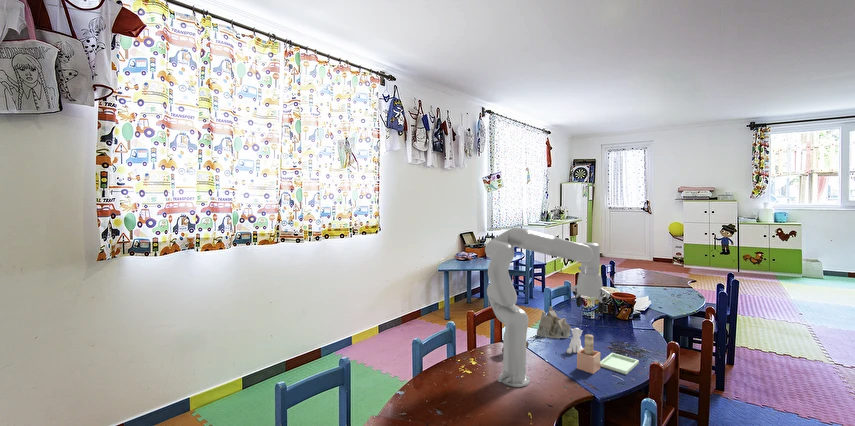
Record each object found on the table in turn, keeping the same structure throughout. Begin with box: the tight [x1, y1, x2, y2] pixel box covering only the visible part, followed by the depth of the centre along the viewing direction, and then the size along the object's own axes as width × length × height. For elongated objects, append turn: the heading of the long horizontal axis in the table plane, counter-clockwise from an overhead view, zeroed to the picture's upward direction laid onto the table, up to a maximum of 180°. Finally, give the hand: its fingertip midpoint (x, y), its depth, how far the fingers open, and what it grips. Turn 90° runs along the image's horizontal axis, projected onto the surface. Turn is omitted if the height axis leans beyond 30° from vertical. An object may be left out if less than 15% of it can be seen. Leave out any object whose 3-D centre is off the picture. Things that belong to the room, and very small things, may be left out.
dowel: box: [584, 333, 594, 356], centre depth 172 cm, size 4×4×15 cm
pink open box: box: [576, 347, 601, 375], centre depth 172 cm, size 7×7×8 cm
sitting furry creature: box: [565, 327, 584, 354], centre depth 191 cm, size 10×9×12 cm
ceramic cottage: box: [536, 306, 572, 339], centre depth 215 cm, size 16×16×15 cm
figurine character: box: [499, 339, 529, 353], centre depth 191 cm, size 7×8×15 cm
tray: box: [600, 352, 640, 376], centre depth 176 cm, size 16×12×2 cm
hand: (589, 308), depth 171 cm, fingers open, 9 cm apart
